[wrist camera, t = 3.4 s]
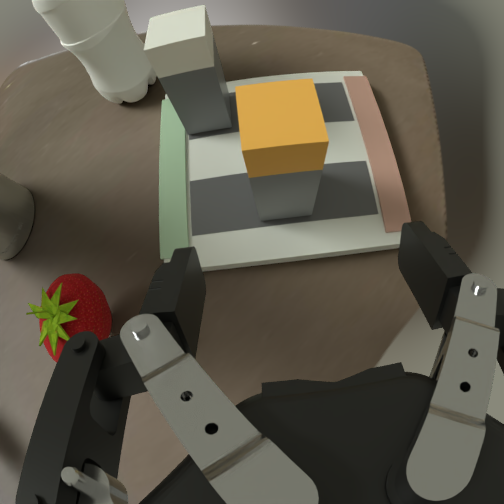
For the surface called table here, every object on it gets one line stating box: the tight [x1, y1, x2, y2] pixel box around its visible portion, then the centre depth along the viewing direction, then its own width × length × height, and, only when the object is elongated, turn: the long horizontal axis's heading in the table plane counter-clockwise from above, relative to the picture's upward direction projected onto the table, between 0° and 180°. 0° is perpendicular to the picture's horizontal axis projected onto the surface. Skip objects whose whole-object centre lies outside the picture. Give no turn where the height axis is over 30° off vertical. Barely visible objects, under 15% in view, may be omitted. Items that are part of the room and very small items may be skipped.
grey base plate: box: [144, 5, 411, 272], centre depth 22 cm, size 20×18×13 cm
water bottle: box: [32, 0, 157, 104], centre depth 20 cm, size 7×7×25 cm
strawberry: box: [26, 273, 112, 362], centre depth 22 cm, size 6×8×10 cm
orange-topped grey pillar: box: [235, 78, 329, 221], centre depth 20 cm, size 4×4×11 cm
